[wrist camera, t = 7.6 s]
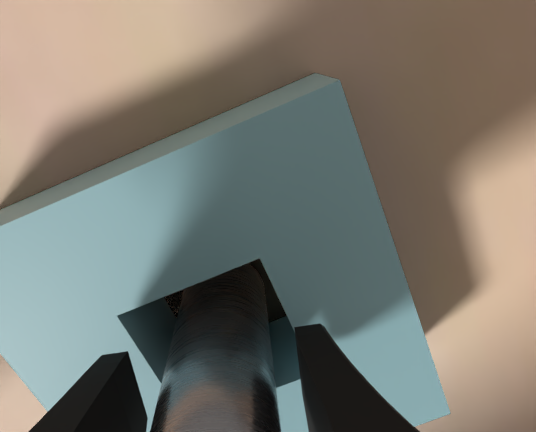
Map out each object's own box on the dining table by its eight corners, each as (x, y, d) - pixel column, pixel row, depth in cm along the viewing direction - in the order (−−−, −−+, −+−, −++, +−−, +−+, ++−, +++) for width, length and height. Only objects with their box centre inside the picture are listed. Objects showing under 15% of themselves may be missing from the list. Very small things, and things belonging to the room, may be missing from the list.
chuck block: (411, 347, 15) (450, 413, 12) (156, 442, 16) (139, 525, 13) (315, 72, 12) (339, 79, 9) (-7, 212, 12) (-77, 259, 10)
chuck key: (256, 248, 13) (297, 682, 4) (271, 318, 14) (334, 804, 5) (174, 265, 13) (28, 737, 4) (195, 333, 14) (115, 849, 5)
